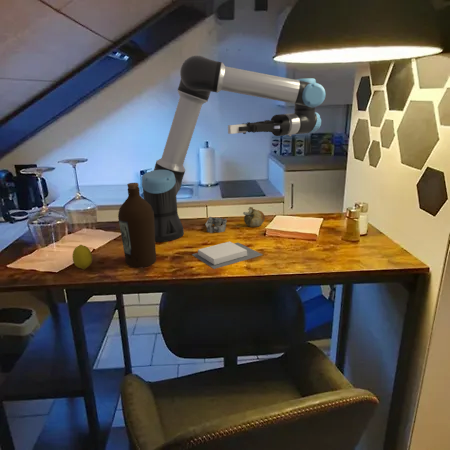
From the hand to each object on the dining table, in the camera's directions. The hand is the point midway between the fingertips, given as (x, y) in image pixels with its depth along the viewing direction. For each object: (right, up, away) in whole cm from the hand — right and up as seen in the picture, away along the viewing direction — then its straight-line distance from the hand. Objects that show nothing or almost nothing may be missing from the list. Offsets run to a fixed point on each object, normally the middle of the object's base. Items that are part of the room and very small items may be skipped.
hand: (229, 129), depth 135 cm
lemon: (-44, -45, -11) cm, 64 cm away
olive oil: (-28, -43, -7) cm, 52 cm away
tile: (+3, -39, -4) cm, 39 cm away
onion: (+10, -33, +22) cm, 41 cm away
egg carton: (-5, -33, +22) cm, 40 cm away
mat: (-1, -42, -5) cm, 42 cm away
